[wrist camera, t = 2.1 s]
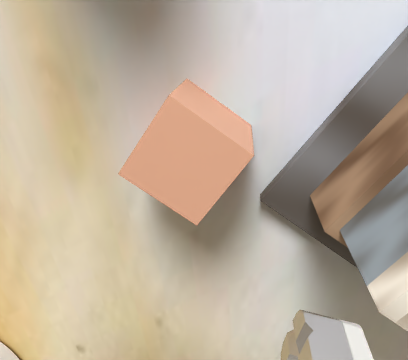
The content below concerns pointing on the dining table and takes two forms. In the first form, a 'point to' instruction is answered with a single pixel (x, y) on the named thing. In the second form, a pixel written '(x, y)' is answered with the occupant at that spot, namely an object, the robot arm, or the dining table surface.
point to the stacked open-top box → (359, 182)
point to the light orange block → (190, 152)
